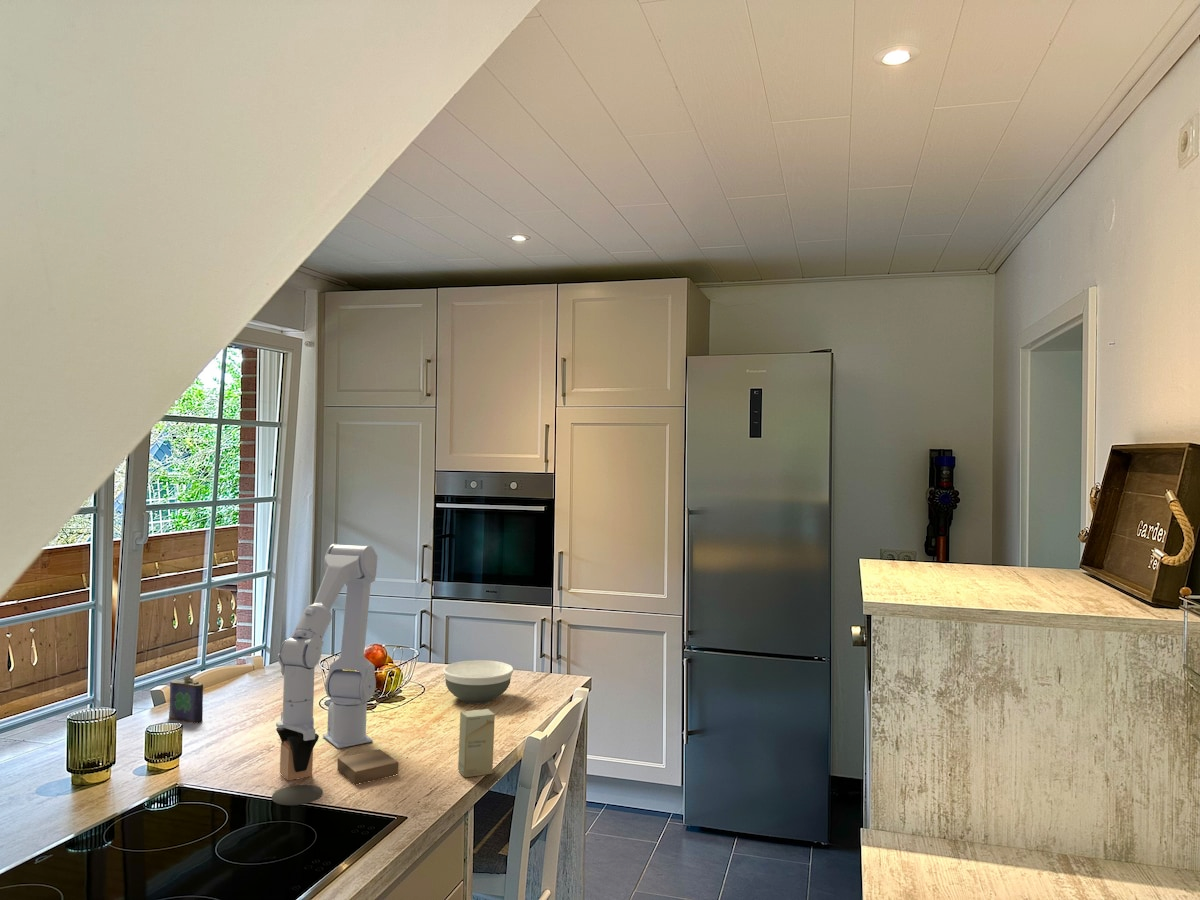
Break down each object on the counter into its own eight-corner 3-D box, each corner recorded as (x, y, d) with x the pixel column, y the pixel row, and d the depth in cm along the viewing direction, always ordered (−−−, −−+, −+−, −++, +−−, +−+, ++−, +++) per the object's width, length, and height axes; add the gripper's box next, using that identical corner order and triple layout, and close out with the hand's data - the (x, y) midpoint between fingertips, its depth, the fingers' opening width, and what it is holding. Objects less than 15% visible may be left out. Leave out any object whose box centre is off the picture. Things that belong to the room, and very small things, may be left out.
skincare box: (464, 778, 163) (465, 717, 164) (457, 770, 167) (459, 711, 167) (493, 773, 166) (495, 713, 166) (486, 766, 170) (488, 707, 170)
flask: (166, 719, 194) (168, 674, 194) (176, 715, 197) (178, 671, 197) (196, 724, 191) (198, 678, 191) (206, 720, 194) (208, 675, 194)
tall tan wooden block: (279, 773, 163) (280, 740, 163) (303, 768, 166) (305, 736, 166) (287, 781, 160) (288, 747, 160) (312, 775, 162) (313, 743, 163)
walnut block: (337, 772, 166) (337, 758, 166) (379, 763, 171) (379, 749, 171) (354, 787, 159) (355, 771, 159) (398, 777, 164) (398, 762, 164)
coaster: (265, 794, 154) (265, 791, 154) (313, 784, 160) (313, 780, 160) (280, 811, 147) (280, 808, 147) (329, 799, 152) (329, 796, 152)
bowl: (477, 685, 230) (477, 656, 231) (527, 698, 219) (528, 667, 220) (427, 700, 215) (427, 669, 215) (478, 714, 204) (479, 681, 204)
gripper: (266, 692, 166) (264, 759, 166) (290, 710, 155) (287, 782, 155) (301, 687, 171) (299, 752, 170) (326, 704, 159) (324, 774, 159)
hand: (296, 766), depth 163 cm, fingers closed on tall tan wooden block, 5 cm apart
